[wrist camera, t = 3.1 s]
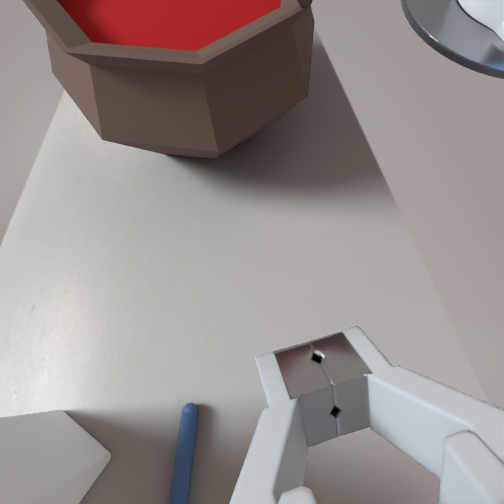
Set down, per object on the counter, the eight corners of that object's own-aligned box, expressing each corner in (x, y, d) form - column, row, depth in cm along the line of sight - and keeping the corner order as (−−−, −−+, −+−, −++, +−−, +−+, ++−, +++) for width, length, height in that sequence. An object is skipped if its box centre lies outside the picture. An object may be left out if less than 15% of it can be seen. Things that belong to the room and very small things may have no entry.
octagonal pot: (343, 78, 36) (409, -137, 21) (238, 243, 29) (219, 103, 13) (174, 11, 40) (125, -207, 25) (45, 141, 33) (-134, -54, 18)
